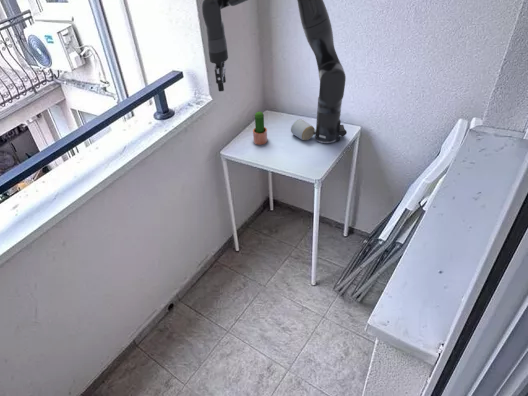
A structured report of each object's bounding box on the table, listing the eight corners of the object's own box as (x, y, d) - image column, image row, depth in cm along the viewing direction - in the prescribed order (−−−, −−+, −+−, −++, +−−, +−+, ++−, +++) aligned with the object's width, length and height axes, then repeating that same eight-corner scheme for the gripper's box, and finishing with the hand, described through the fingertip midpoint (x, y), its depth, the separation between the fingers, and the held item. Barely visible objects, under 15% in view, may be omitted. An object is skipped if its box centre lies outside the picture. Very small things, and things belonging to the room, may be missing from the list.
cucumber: (264, 138, 169) (263, 109, 159) (264, 143, 166) (263, 113, 157) (256, 139, 170) (254, 110, 161) (256, 143, 167) (254, 114, 158)
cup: (267, 138, 170) (266, 126, 166) (267, 145, 165) (266, 133, 161) (253, 139, 172) (253, 127, 168) (253, 146, 167) (252, 134, 163)
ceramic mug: (302, 143, 161) (303, 128, 156) (290, 136, 167) (290, 122, 162) (321, 135, 163) (322, 120, 158) (308, 128, 169) (309, 114, 164)
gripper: (225, 53, 138) (229, 93, 149) (228, 41, 149) (232, 78, 159) (206, 56, 141) (211, 94, 151) (210, 43, 151) (215, 80, 161)
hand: (222, 86), depth 155 cm, fingers open, 8 cm apart
